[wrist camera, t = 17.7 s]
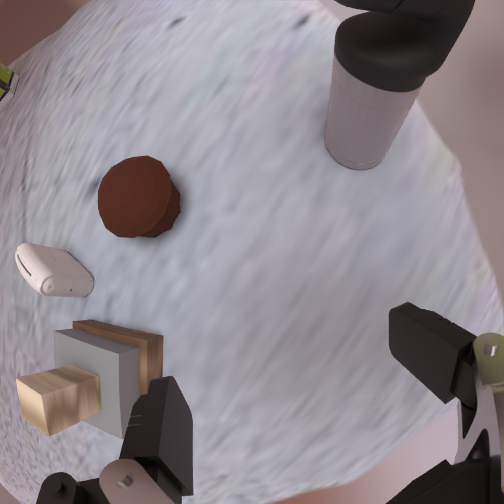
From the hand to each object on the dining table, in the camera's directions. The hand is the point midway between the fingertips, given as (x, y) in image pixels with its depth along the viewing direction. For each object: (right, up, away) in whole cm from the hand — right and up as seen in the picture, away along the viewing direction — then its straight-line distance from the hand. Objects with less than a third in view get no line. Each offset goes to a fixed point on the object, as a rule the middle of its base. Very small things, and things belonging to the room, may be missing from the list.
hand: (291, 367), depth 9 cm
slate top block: (-22, -14, +24) cm, 35 cm away
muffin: (-16, +10, +31) cm, 36 cm away
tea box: (-96, +65, +52) cm, 127 cm away
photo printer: (-31, 0, +32) cm, 45 cm away
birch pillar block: (-22, -13, +19) cm, 32 cm away
